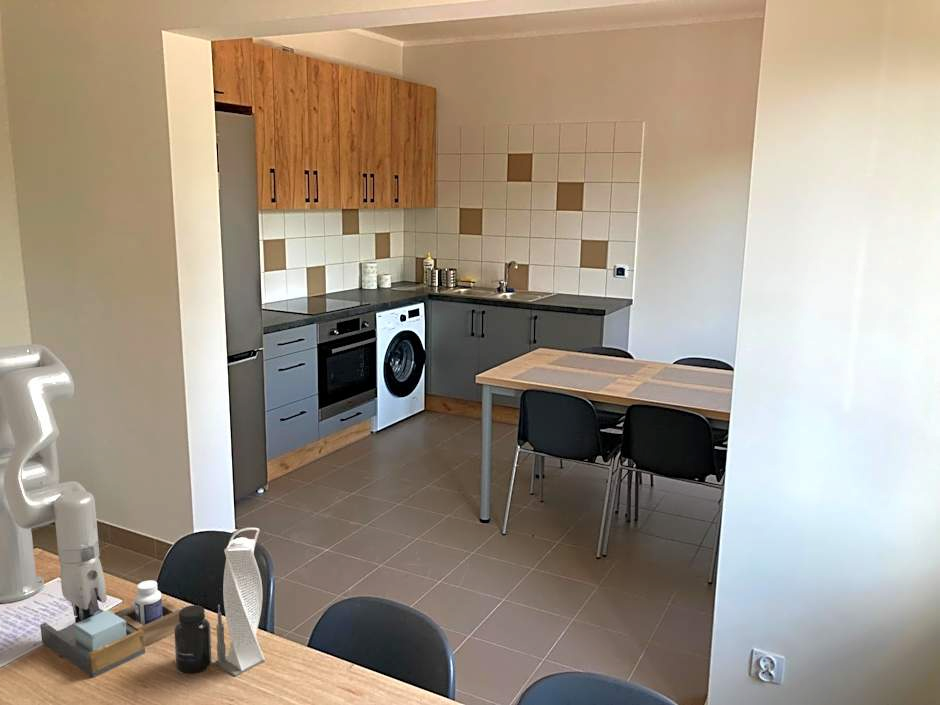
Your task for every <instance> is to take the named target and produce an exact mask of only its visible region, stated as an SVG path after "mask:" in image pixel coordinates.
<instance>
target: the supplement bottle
mask: <svg viewBox="0 0 940 705" xmlns="http://www.w3.org/2000/svg"><path fill="white" fill-rule="evenodd" d="M205 611H206V610H205V608H204V606H201V605H196V604H193V605H188V606H185V607H182V608H181V609H180V612H179V623H178V624H177V625H176V627H175V631H174V633H173V634H174V652H175V666H176V667H175V668H176V670H177V671H178V672H180V673H181V674H185V675H193V674H194V675H196V674H198V673H201V672H204V671H205V670H206V669H208V668H209V667H210V666H211V664H212V661H213V660H212V659H213V658H212V636H211V633H212V632H211V631H212V630H211V623H210V622H209V620H208V619H207V618H206V613H205Z"/></svg>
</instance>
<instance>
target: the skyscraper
mask: <svg viewBox="0 0 940 705" xmlns="http://www.w3.org/2000/svg"><path fill="white" fill-rule="evenodd" d="M252 530H253V531H254V530H255V531H256V533H255V536H254V538H248V537H237V538H235V537H236V536H237V535H238V534H239V533H241V532H244V531H252ZM259 533H260V528H258V527H244V528H241V529H238V530H237V531H235V532H234V533H233V534H232V536H231V537H230V539H229V542H228V545H227V547H225V548H224V550H223V551H224V555H225V558H226V559H225V565H224V572H223V587H222V589H223V590H222V592H223V593H222V595H223V607H224V608H223V609H224V614H225V621H226V623H227V630H228V633H229V636H230V647H229V651H228V654H227V652H226V650H227V648H226V643H225V628H224V627H225V626H224V623H222V622H223V621H222V618H223V617H222V612H221V606H220V604H218V605H217V609H218V610H217V613H216V614H217V624H216V627H215V628H216V639H217V640H216V642H217V643H216V653H217V654H216V655H217V656H216V657H217V660H216V661H215V664H216V665H218V666H219V667H220V668H221V669H223V670H225V671H226V672H228V673H229V674H230V675H232V676H234V677H238V676H240V675H241V674H243V673H245V672H247V671H249V670H250V669H253V668H254V667H257V666H259V665H260V664H263V663H264V662H265V661H266V658H265V656H264V654H263V651H262V648H261V646H260V644H259V641H258V638H257V632H258V628H259V624H260V618H261V614H262V609H263V608H262V607H263V584H262V582H263V581H262V577H261V573H260V569H259V567H258V563H257V560H256V557H255V554H254V553H255V548H256V544H257V540H258V538H259ZM234 538H235V539H234Z"/></svg>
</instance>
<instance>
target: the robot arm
mask: <svg viewBox="0 0 940 705" xmlns="http://www.w3.org/2000/svg"><path fill="white" fill-rule="evenodd" d="M74 394H75V383H74V380H73V377H72V374H71V373H70V370H68V368H67V367H66V365H65V363H63V362H62V361H61V359H59V358H58V357H57V356H56V355H55V354H54V353H53V352H52V351H51V350H49V348H48V347H46V346H44V345H42V344H38V343H37V344H36V343H35V344H34V343H31V344H23V345H14V346H5V347H0V460H5V459H8V461H7V462H2V463H0V604H7V603H13V602H18V601H21V600H24V599H27V598H29V597H32V596H34V595H36V594H37V593H38V592H40V591H41V590H43V588H44V587H45V586H44V585H45V582H44V578H43V577H42V576H41V575H40V576H39V575H37V573H36V565H35V555H34V554H35V553H34V544H33V534H32V533H33V532H32V529H35V528H38V527H42V526H45V525H48V524H52V523H55V534H56V543H57V544H56V545H57V553H58V554H57V555H58V556H57V557H58V563H59V564H60V585H61V592H62V593H61V594H62V596H63V598H64V599H65V600H66V601H68V602H70V603H71V606H72V611H73V615H74V621H75V623H77V622H80V621H82V620H85V619H87V618H89V617H92V616H94V615H95V614H97V613H99V612H100V611H99V609H100V607H99V602H100V603H101V604H102V603H106V602H107V589H106V583H105V582H106V581H105V576H104V571H103V567H102V562H101V560H100V558H99V557H100V547H99V546H100V545H99V534H98V533H99V532H98V522H97V511H96V510H97V509H96V500H95V496H94V495H93V493H91V492H89V491H87V490H86V489H85V487H84V486H83V485H82V484H81V483H80V482H77V481H75V480H74V481H72V480H70V481H66V482H61V483H59V482H60V470H59V460H58V448H57V441H56V440H57V439H58V438H59V436H60V430H59V427H58V424H57V421H56V419H55V416H54V415H55V414H54V412H53V409H52V406H51V404H55V403H62V402H67V401H69V400H70V399H71V398H72V397H73V396H74ZM75 623H74V624H75Z"/></svg>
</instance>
